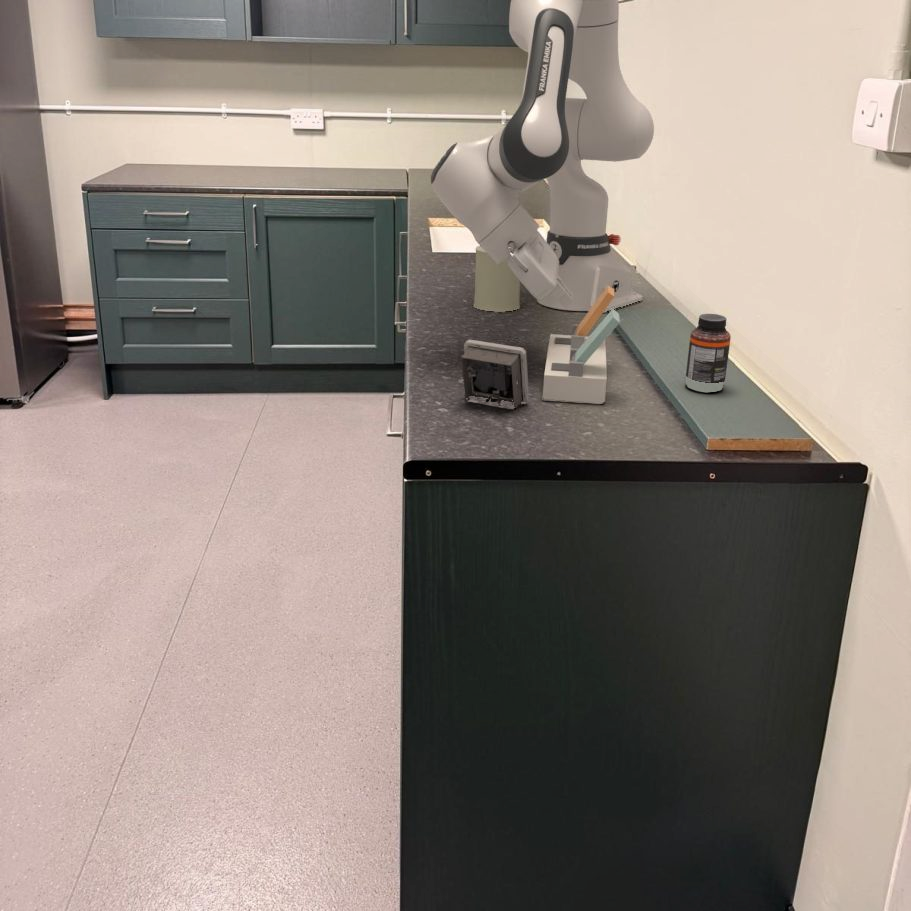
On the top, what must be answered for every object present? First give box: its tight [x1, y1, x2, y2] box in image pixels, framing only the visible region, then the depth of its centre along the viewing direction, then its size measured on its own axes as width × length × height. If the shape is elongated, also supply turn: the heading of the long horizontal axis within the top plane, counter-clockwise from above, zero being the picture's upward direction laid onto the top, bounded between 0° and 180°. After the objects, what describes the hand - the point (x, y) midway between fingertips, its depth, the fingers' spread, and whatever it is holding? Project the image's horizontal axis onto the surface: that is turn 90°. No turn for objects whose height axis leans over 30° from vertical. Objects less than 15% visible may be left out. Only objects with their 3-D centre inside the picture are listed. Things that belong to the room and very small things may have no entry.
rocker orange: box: [574, 286, 615, 338], centre depth 154 cm, size 1×5×10 cm
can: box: [473, 245, 521, 313], centre depth 190 cm, size 9×9×12 cm
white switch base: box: [542, 323, 608, 402], centre depth 153 cm, size 9×28×6 cm, turn 172°
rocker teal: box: [572, 309, 621, 365], centre depth 141 cm, size 1×5×10 cm
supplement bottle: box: [685, 313, 732, 383], centre depth 147 cm, size 6×6×11 cm
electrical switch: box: [460, 339, 530, 408], centre depth 138 cm, size 9×5×9 cm, turn 65°
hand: (569, 302), depth 154 cm, fingers closed
